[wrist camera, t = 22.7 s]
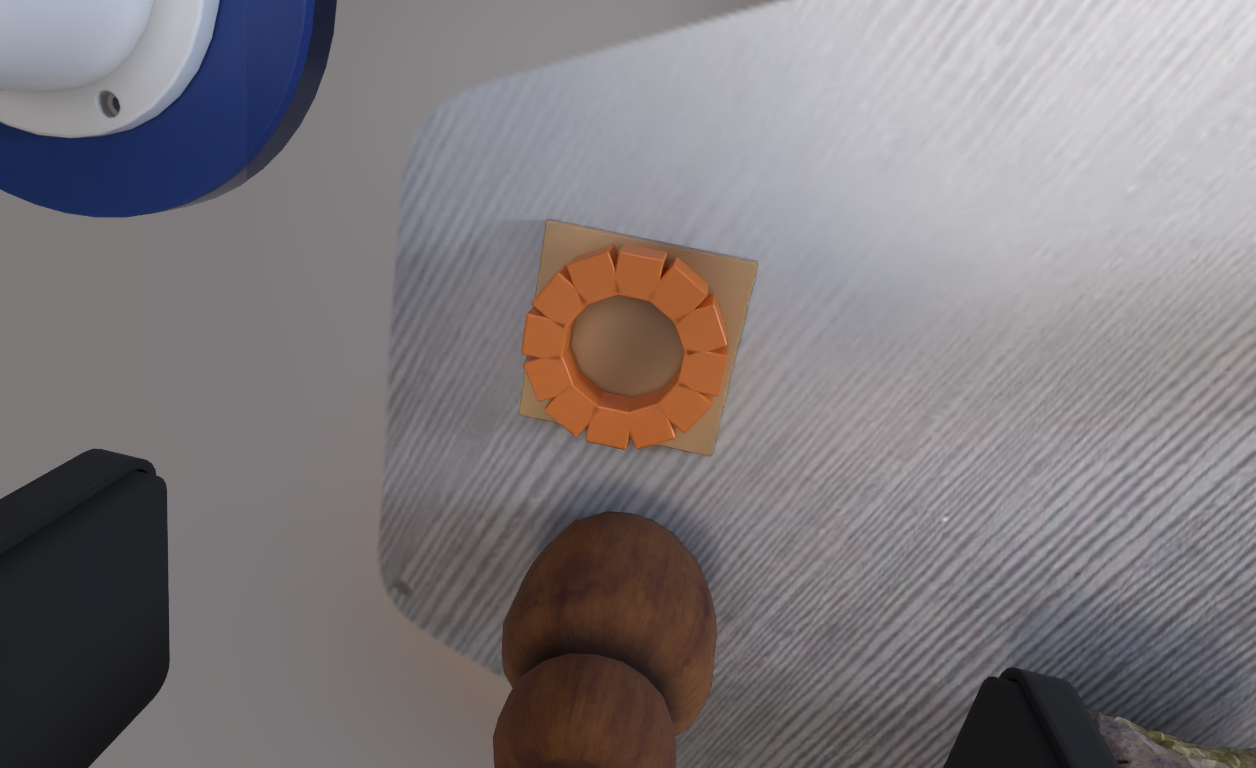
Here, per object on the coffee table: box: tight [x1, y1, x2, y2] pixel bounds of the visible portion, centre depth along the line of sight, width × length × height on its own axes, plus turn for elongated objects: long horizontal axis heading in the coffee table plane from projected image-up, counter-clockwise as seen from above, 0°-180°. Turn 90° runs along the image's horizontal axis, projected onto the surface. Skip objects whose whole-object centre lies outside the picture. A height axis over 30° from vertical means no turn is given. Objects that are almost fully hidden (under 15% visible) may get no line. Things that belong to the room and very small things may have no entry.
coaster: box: [519, 219, 758, 456], centre depth 27 cm, size 7×7×1 cm
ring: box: [521, 244, 728, 449], centre depth 26 cm, size 7×7×1 cm
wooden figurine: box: [493, 511, 717, 768], centre depth 23 cm, size 7×6×15 cm
